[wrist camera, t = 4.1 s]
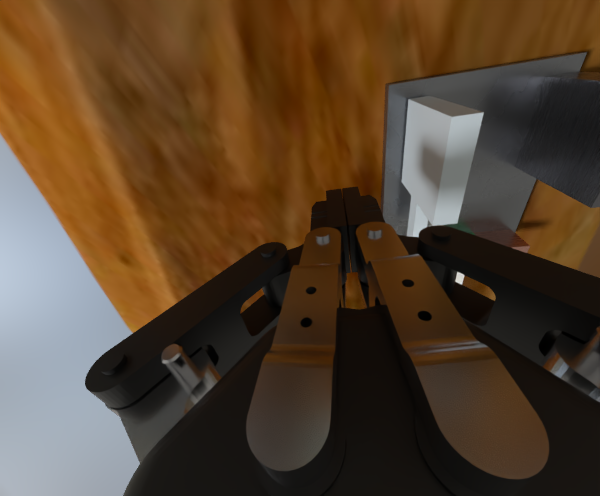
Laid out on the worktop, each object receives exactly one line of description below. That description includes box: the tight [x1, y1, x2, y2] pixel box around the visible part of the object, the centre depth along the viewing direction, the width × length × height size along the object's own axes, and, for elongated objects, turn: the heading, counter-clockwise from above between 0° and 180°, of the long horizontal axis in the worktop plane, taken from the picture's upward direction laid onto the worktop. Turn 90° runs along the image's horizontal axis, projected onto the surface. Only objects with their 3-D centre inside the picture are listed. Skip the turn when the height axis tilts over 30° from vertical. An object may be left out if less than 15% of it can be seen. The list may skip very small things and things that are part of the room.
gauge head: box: [402, 96, 484, 237], centre depth 18 cm, size 1×10×7 cm, turn 8°
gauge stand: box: [381, 52, 600, 253], centre depth 18 cm, size 12×14×8 cm
